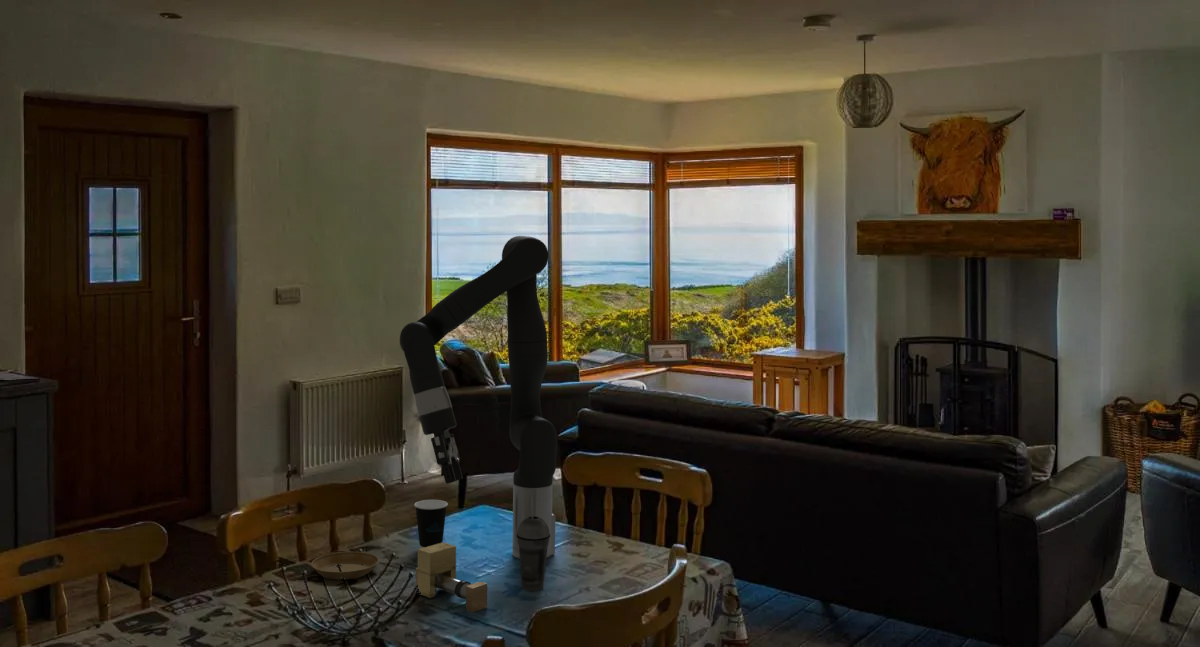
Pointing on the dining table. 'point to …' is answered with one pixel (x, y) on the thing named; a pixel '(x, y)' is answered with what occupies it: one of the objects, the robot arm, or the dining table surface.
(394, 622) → the dining table surface
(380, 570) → the dining table surface
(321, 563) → the plant saucer
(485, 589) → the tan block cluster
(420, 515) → the dixie cup
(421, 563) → the wooden block arch
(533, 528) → the beverage cup
